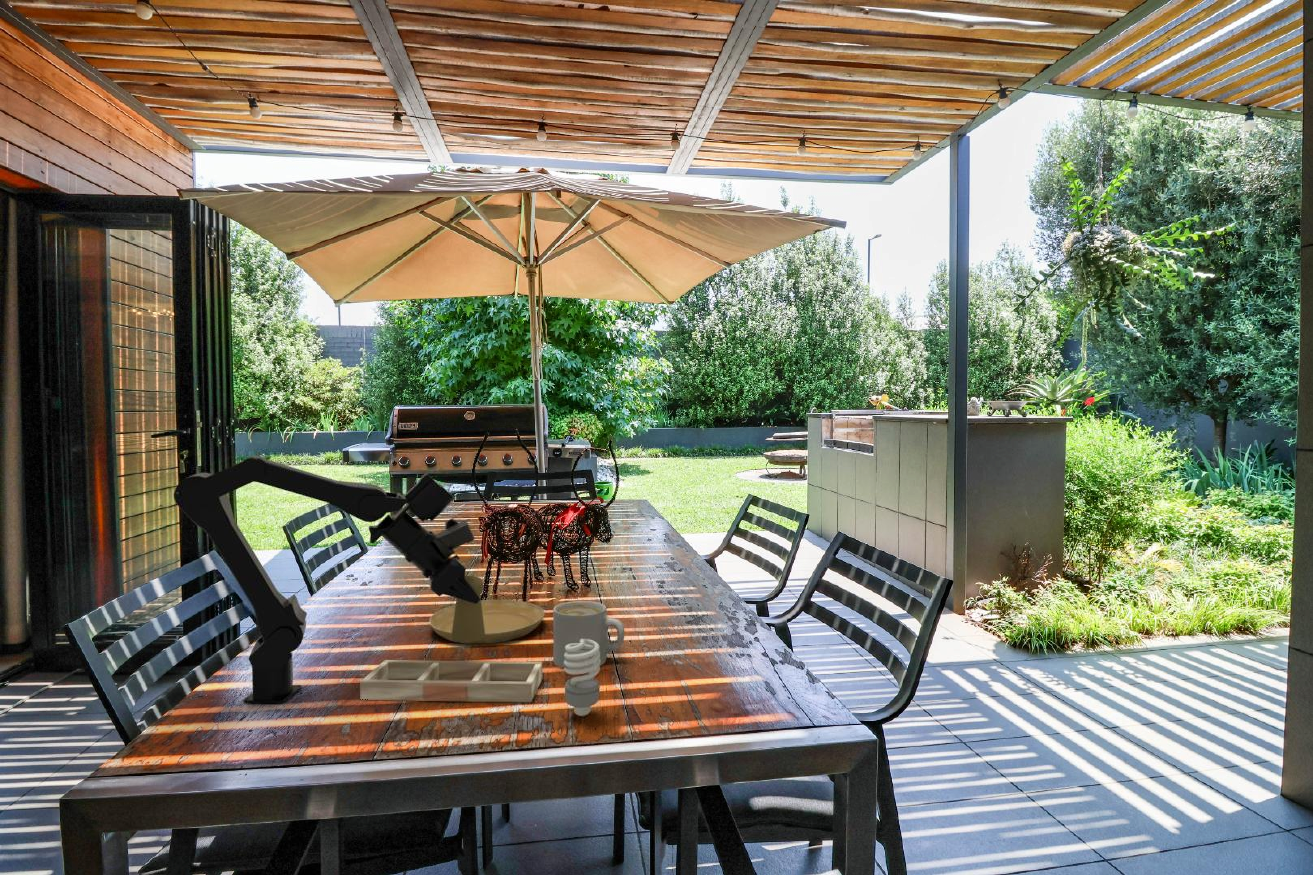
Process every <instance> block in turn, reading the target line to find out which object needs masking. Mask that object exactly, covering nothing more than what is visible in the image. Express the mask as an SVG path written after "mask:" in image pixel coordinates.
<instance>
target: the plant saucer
mask: <svg viewBox="0 0 1313 875" xmlns="http://www.w3.org/2000/svg"><path fill="white" fill-rule="evenodd" d="M481 605H482V613H483V621H484V629H485V638H484V639H482V640H479V641H475V642H467V643H465V644H467V645H483V644H484V645H485V644H497V643H503V642H509V641H512V640H517V639H519V638H522V637H525V636H526V635H528V634H530V633H531V632H532V631H534V630H535V629H536V628H538V626H540V624H541V622H542V621H543V619H544V617H545V610H544V609H543V608H542V607H541V606H539V605H538V604H534V603H532V602H527V601H521V600H515V599H514V600H512V599H486V600H485V599H484V600H481ZM455 606H456V604H454V605H451V606H450V605H449V606H448V607H445V608H442V609H440V610H438V611H436V612H435V613H433V614H432V615H431V616H430V618H429V620H428V621H429V624H430V626H431V629H432V630H433V631H435V633H436V634H437V635H439V636H440V637H441V638H444V639H445V640H448V641H451V642H454V643H457V642H456V641H453V640H452V639H451V634H452V627H453V620H454V613H455ZM459 643H460V644H463V643H462V642H459ZM459 643H458V644H459Z"/></svg>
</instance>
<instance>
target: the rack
mask: <svg viewBox="0 0 1313 875" xmlns="http://www.w3.org/2000/svg"><path fill="white" fill-rule="evenodd" d="M542 681H543V661H485V660H484V661H483V660H481V661H480V660H477V661H476V660H410V659H407V660H405V659H403V660H401V659H396V660H395V659H384V660H383V661H381V663H380V664H378V666H376V667H375V668H374V669H373V670H371V671H370V673H368V674H367V675H366V676H365V677H363V679H361V680H360V682H359V691H360V692H359V694H360V698H359V700H360V699H361V700H362V699H363V700H362V701H410V702H411V701H415V702H417V701H418V702H419V701H420V702H425V701H426V702H478V703H479V702H482V703H483V702H484V703H485V702H490V703H491V702H493V703H495V702H496V703H532V701H533V699H534V698H535V695H536V693H537V691H538V689H539V687H540V685H541V683H542ZM365 699H366V700H365ZM367 699H368V700H367ZM361 700H360V701H361Z"/></svg>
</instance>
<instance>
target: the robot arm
mask: <svg viewBox="0 0 1313 875" xmlns="http://www.w3.org/2000/svg"><path fill="white" fill-rule="evenodd" d="M253 482H254V483H259V484H263V485H266V486H270V487H273V488H275V489H276V488H277V489H280V490H283V491H287V492H289V493H293V494H297V495H300V496H303V497H307V498H311V499H314V500H317V501H321V502H324V503H327V504H330V505H332V506H334V507H336V508H337V509H339V510H341V511H342V512H344V513H346V514H348V515H351V516H352V517H354V518H357V519H358V520H361V521H363V522H367V523H375V522H377V521H378V520H380V522H379V523H378V524H377V525H369V526H368V531H369V534H370V535H369V542H370V543H369V544H374V543H376V542H377V541H378V540H379V539H380V538H381V537H382V538H383V539H384V540H386V542H387V543H389V544H390V545H391V546H392V547H393V548H394V549H396V551H398V552H399V554H401V555H403V557H404V558H405V561H407V562H408V563H409V564H412V565H413V566H415V567H416V568H417V569H418V570H419V571H420V572H421V573H422V576H424V578H426V579H428V583H429V584H428V585H429V588H430V590H431V591H432V592H433V593H434V594H435V595H437V596H438V597H440V596H443V595H445V596H448V597H453V598H456V599H457V598H459V599H462V600H465V601H468V602H472V603H475V604H477V603H478V602H479V601H480V598H479V596H478V595H477V594H476V592H475V591H474V590H473V588H472V587H471V586H470V584H469V583H468V582H467V580H466V579H465V576H466V571H467V568H466V566H465V564H464V563H462V562H461V561H460V557H459V555H458V554H455V553H456V551H455V549H458V547H461V546H463V545H465V544H469V543H472V542H473V541H474V540H475V538H476V537H475V536H474V534H473V532H472V529H471V528H470V526H469V523H468V522H467V521H466V520H460V521H459V522H458V521H457V520H456V519H454V518H450V519H448V520H446V521H445V525H444V529H442V530H441V531H439V532H438V533H436V534H435V533H434V532H433V531H431V530H427V529H426V528H425V527H424V526H422V525H421V524H420V523H419V522H418V521H417V520H416V519H415V518H414V517H413V516H412V515H411V514H409V513H408V511H410V512H411V513H412V514H413V515H414V516H416V517H417V518H418V519H419V520H420V521H421V522H423V523H424V522H425V521H426V522H427V521H431V522H433V521H434V520H435V519H436V518H438V517H439V515H441V513H442V512H443V511H444V510H446V509H447V507H448V506H450V505H451V504H452V503H453V501H455V499H456V498H455V497H454V496H453V495H452V494H451V493H450V492H449V491H448V490H447V489H446V488H445V487H444V486H442V485H441V484H440V483H438V482H437V481H436V480H435V479H433V478H432V477H431V476H430V474H428V473H424V474H422V476H421V477H419V480H418V481H417V482H416V483H415V484H414V485H413V486H412V487H411V488H410V489H409V490H408V491H407V492H406V493H400V492H389V491H385V490H384V489H383V488H382V487H380V486H379V485H377V484H370V483H363V482H354V481H353V482H352V481H341V480H335V479H332V478H329V477H325V476H322V475H319V474H316V473H313V472H309V471H306V470H303V469H299V468H296V467H293V466H289V465H286V464H283V463H279V462H276V461H273V460H270V459H267V458H265V457H264V456H262V455H251V456H250V457H247V458H245V459H243V460H242V462H238V463H237V464H234V465H232V466H229V467H226V468H224V469H223V470H220V471H217V472H215V473H213V474H212V473H209V472H199V473H197V474H196V473H195V474H192V475H189V477H186V478H183V479H182V480H181V481H179V483H178V484H177V485H176V487H175V489H174V492H173V500H174V502H175V504H176V505H177V507H178V508H179V509H180V510H181V511H182V512H183V513H184V514H185V515H186V517H188V519H190V520H191V522H193V523H194V524H195V525H196V526H197V527H199V528H200V530H203V531H204V532H205V533H206V534H207V535H208V537H209V539H210V540H211V542H212V543H213V545H214V547H215V548H216V550H217V551H218V552H219V555H220V556H221V558H222V559H223V561H224V563H225V564H226V565H227V568H228V569H229V571H230V572H231V574H232V576H233V577H234V578H235V581H236V582H237V583H238V585H239V587H240V588H241V590H242V592H243V594H244V595H245V596H246V598H247V600H248V602H249V603H250V604H251V606H252V608H253V611H254V614H255V619H256V624H257V628H258V630H259V633H260V637H259V638H257V640H256V641H255V643H254V645H253V647H252V649H251V652H250V654H249V656H248V661H249V663H250V665H251V675H252V676H251V678H252V680H251V681H252V687H251V688H252V693H250V694H249V695H247V696H246V697H244V698H243V701H242V702H243V703H246V704H282V703H284V702H286V701H288V699H290V698H291V697H292V696H294V695H295V694H296V693H297V692H299V691H301V689H302V688H303V686H302V685H301V684H293V683H294V670H293V668H294V667H293V666H294V665H293V652H294V651H295V650H296V649H298V648H299V646H301V644H302V643H303V639H304V636H305V633H306V628H307V620H306V619H307V615H308V613H307V612H306V611H305V610H303V609H302V607H301V605H300V603H299V601H298V598H297V596H296V595H295V594H294V595H292V596H290V597H289V598H286V597H285V596H284V595H282V593H280V592H279V590H278V589H277V588H276V586H275V584H274V583H273V581H272V580H271V578H270V576H269V574H268V573H267V571H266V569H265V568H264V566H263V565H262V563H261V561H260V560H259V558H258V557H257V554H256V553H255V552H254V550H253V548H252V547H251V545H250V543H249V542H248V540H247V539H246V537H245V535H244V534H243V532H242V530H241V529H240V526H239V525H238V524H237V522H236V519H235V518H234V513H233V510H232V505H231V501H230V499H229V495H228V494H229V493H231V492H233V491H235V490H238V489H240V488H242V487H245V486H246V485H249V484H252V483H253ZM397 511H398V512H397ZM393 512H396V513H395V514H394V515H391V513H393ZM389 513H390V514H389ZM386 514H387V515H386ZM384 516H385V517H384ZM382 518H383V519H382ZM381 519H382V520H381ZM452 555H454V556H453V557H451V556H452Z"/></svg>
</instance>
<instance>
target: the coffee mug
mask: <svg viewBox="0 0 1313 875" xmlns="http://www.w3.org/2000/svg"><path fill="white" fill-rule="evenodd" d="M552 614H553V618H552V619H553V622H552V624H553V626H552V627H553V630H552V631H553V634H552V635H553V643H552V644H553V645H552V646H553V647H552V648H553V664H554V665H555V666H557V667H559V668H561V669H565V667H566V666H565V665H564V660H565V659H566V658H565V657H564V654H565V653H566V652H567V651H566V650H565V646H566V645H568V644H572V643H580V640H581V639H589V640H593V641H595V642H596V643H598V644H599V652H600V660H601V662H600V665H599V666H602V665H604V664H605V663H606V662H607V655H608V653H610V652H612V651H615V650H617V649H619V648H620V647H621V646H622V645H623V643H624V641H625V627H624V624H623V623H622V621H621V620H619V619H617V618H614V617H610V616H609V617H608V616H607V607H606V605H605V604H603V603H600V602H596V601H592V600H591V601H590V600H577V601H575V600H573V601H568V602H567V601H566V602H562V603H559V604H558V605H555V606H554V607H553V613H552ZM609 627H615V630H616V632H617V638H616V640H615V641H611V640H610V638H609V634H608V629H609ZM588 645H589V644H588ZM591 646H592V645H591ZM580 650H583V651H591V650H588V649H584V648H581V649H580ZM588 659H591V657H588ZM587 666H589V667H590V666H592V665H587Z"/></svg>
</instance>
